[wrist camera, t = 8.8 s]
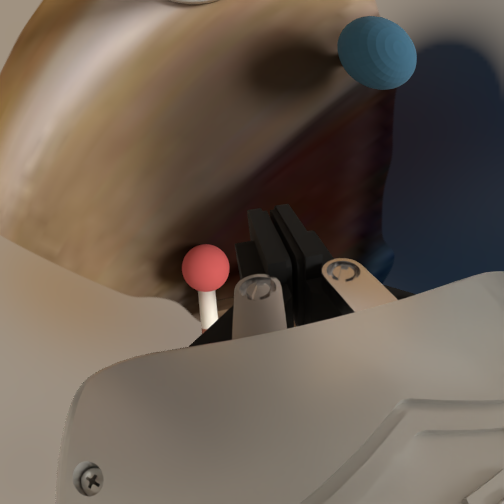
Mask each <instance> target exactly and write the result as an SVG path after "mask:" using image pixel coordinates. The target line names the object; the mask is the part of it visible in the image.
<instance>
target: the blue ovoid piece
mask: <svg viewBox="0 0 504 504" xmlns="http://www.w3.org/2000/svg"><path fill="white" fill-rule="evenodd" d="M338 55H339V58H340V61H341V64H342V65H343V67H344V69H345V70H346V71H347V73H348V74H349V75H350V76H351V77H352V78H353V79H355V80H356V81H358V82H359V83H361V84H363V85H365V86H367V87H370V88H374V89H380V90H386V89H392V88H396V87H398V86H400V85H402V84H404V83H405V82H406V81H407V80H409V78H410V77H411V75H412V74H413V72H414V70H415V67H416V50H415V47H414V44H413V42H412V40H411V38H410V37H409V36H408V34H407V33H406V32H405V31H404V30H403V29H402V28H401V27H400V26H399V25H397V24H396V23H394V22H392V21H390V20H388V19H385V18H382V17H374V16H367V17H361V18H358V19H355V20H354V21H352V22H351V23H349V24H348V25H347V26H346V27H345V28H344V29H343V30H342V32H341V34H340V37H339V40H338Z"/></svg>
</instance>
